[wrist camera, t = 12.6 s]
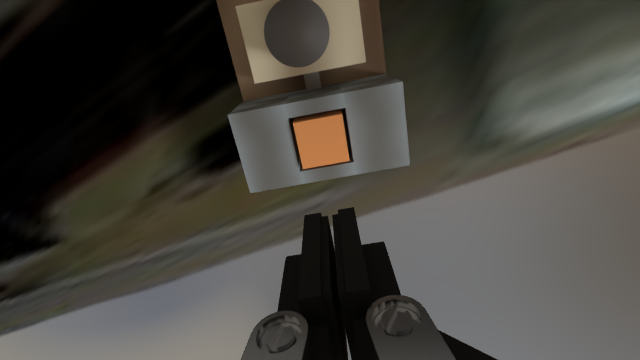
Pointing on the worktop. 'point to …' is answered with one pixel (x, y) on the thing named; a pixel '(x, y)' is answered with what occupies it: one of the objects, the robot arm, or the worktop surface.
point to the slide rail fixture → (317, 110)
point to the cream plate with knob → (300, 36)
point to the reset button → (321, 138)
